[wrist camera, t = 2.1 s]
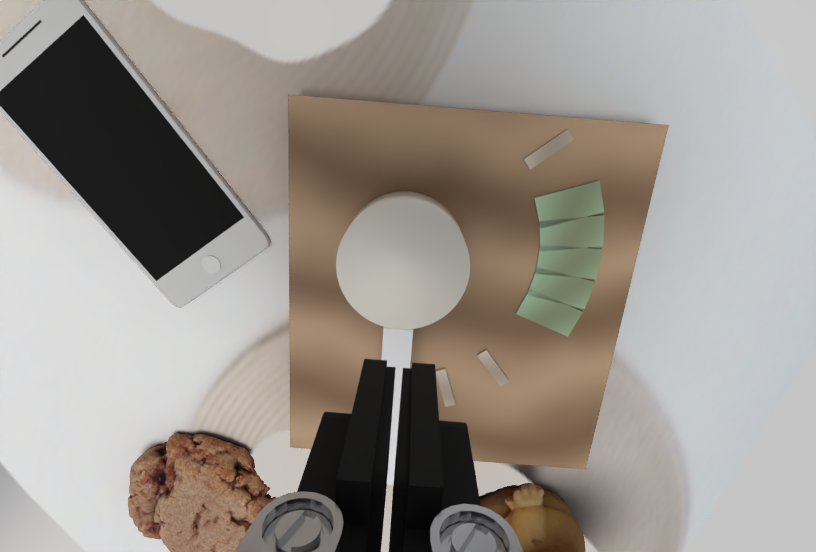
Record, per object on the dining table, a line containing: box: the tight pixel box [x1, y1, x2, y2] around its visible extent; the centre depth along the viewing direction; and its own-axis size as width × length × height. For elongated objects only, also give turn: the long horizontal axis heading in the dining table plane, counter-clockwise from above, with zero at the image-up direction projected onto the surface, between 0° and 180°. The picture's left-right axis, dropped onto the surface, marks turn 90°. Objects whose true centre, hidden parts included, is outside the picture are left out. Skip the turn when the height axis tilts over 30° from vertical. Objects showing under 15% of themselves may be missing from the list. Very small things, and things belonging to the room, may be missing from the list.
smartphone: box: [0, 0, 270, 308], centre depth 25 cm, size 7×16×1 cm, turn 34°
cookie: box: [128, 432, 276, 552], centre depth 31 cm, size 10×11×3 cm
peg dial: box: [336, 191, 470, 485], centre depth 24 cm, size 15×6×3 cm, turn 176°
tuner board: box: [288, 95, 668, 469], centre depth 26 cm, size 20×18×2 cm
